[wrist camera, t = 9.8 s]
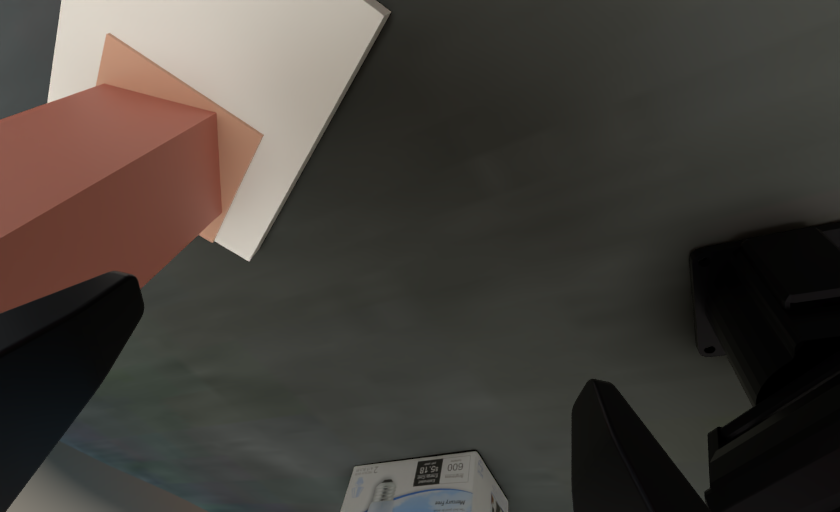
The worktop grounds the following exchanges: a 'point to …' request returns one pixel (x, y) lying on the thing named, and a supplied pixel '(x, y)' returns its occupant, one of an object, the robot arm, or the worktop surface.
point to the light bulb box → (425, 486)
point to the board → (228, 82)
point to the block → (102, 189)
